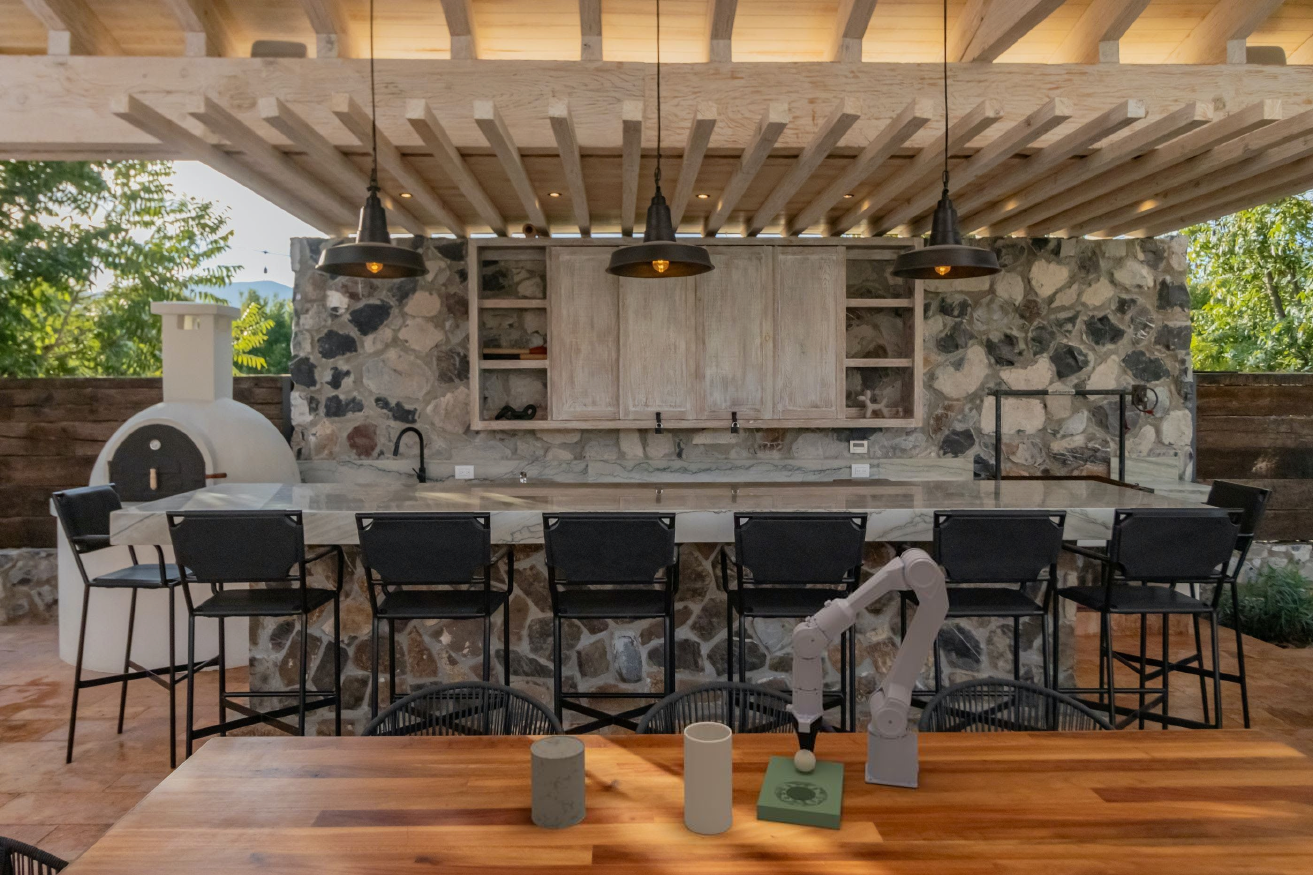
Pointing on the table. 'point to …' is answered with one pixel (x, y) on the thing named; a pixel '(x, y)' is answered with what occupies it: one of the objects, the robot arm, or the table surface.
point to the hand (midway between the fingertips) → (807, 753)
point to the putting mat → (802, 793)
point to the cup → (708, 777)
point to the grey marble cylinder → (558, 781)
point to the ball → (805, 760)
